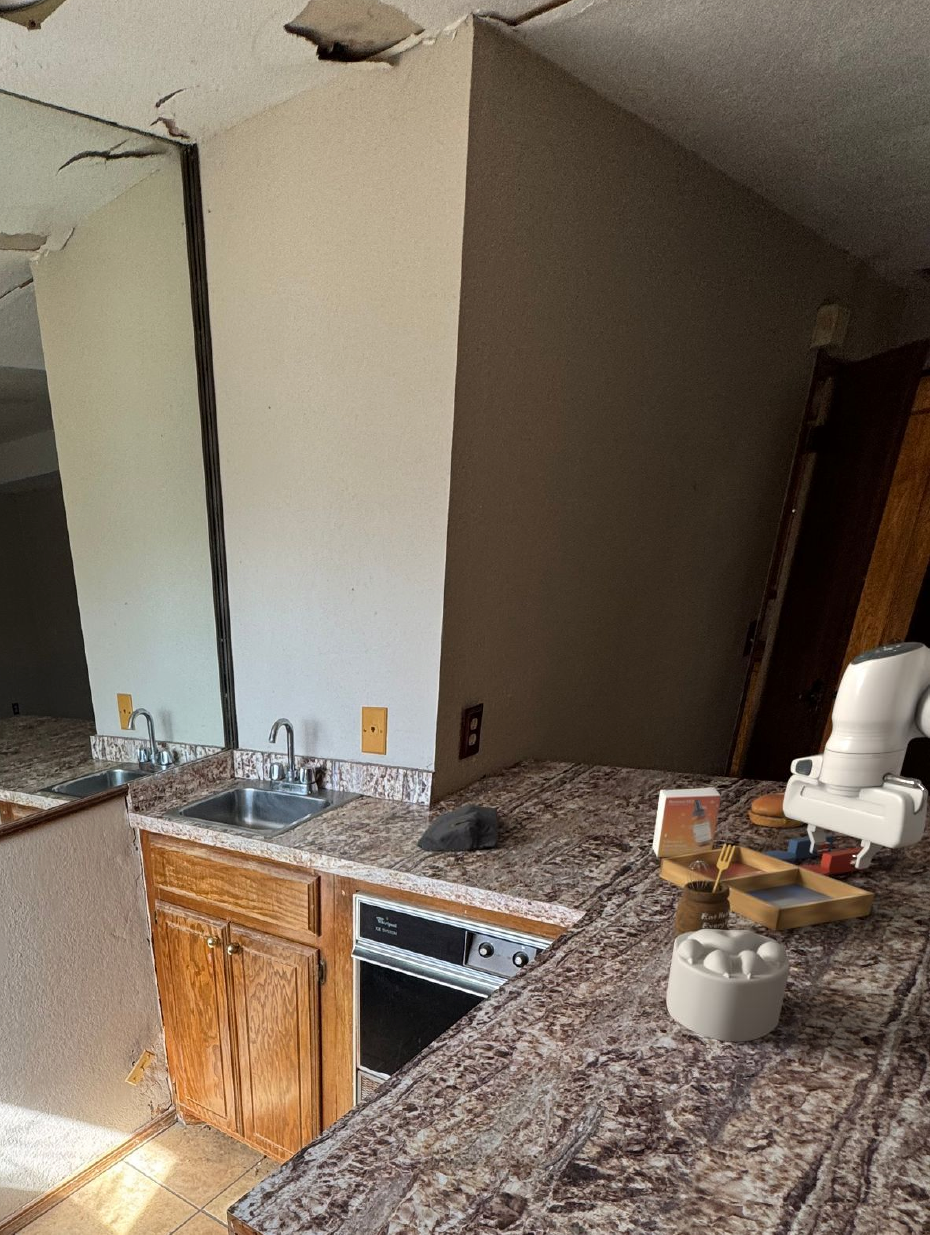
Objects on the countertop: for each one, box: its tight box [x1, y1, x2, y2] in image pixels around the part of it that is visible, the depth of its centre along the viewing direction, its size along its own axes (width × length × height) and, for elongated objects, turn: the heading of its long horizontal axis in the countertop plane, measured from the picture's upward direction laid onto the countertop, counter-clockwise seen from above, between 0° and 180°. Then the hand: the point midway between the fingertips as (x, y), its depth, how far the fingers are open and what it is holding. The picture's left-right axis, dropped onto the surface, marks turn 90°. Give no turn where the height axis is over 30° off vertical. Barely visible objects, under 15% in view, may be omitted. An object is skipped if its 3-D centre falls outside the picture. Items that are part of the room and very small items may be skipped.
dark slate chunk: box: [415, 804, 500, 852], centre depth 158 cm, size 15×22×5 cm
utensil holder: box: [674, 843, 737, 937], centre depth 103 cm, size 6×6×12 cm
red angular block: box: [798, 846, 867, 877], centre depth 117 cm, size 10×4×3 cm, turn 95°
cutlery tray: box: [658, 845, 875, 932], centre depth 114 cm, size 13×24×3 cm, turn 5°
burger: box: [747, 791, 805, 829], centre depth 139 cm, size 10×9×5 cm
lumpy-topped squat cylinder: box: [665, 929, 791, 1043], centre depth 87 cm, size 10×13×9 cm
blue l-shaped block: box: [762, 832, 835, 864], centre depth 124 cm, size 10×4×3 cm, turn 95°
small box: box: [652, 786, 722, 858], centre depth 131 cm, size 8×6×10 cm
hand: (838, 860), depth 117 cm, fingers open, 6 cm apart
